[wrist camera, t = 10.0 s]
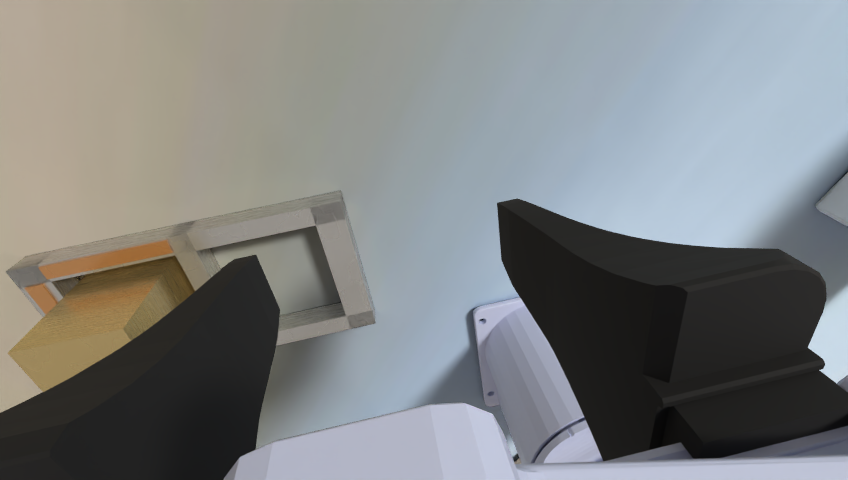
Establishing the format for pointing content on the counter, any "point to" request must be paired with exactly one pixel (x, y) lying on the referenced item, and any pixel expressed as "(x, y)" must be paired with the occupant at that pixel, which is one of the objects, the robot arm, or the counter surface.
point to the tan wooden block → (100, 318)
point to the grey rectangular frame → (191, 244)
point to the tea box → (836, 202)
